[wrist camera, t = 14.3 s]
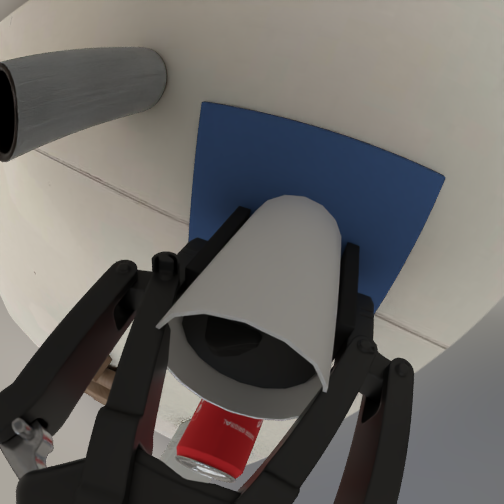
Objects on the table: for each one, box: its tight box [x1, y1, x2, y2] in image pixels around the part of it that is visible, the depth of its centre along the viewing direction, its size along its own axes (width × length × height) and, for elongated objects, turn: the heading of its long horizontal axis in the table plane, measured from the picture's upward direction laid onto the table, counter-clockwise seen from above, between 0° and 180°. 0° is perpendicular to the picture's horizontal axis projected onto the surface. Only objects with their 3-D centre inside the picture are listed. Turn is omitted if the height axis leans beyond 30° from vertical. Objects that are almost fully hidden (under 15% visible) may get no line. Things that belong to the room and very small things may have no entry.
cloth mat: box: [188, 102, 445, 313], centre depth 19 cm, size 16×14×1 cm
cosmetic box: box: [160, 420, 212, 483], centre depth 38 cm, size 8×7×16 cm
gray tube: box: [0, 47, 166, 162], centre depth 11 cm, size 4×4×10 cm
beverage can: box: [175, 399, 263, 483], centre depth 21 cm, size 5×5×12 cm
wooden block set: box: [84, 355, 116, 405], centre depth 41 cm, size 17×6×18 cm
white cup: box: [156, 195, 341, 421], centre depth 14 cm, size 7×7×10 cm
